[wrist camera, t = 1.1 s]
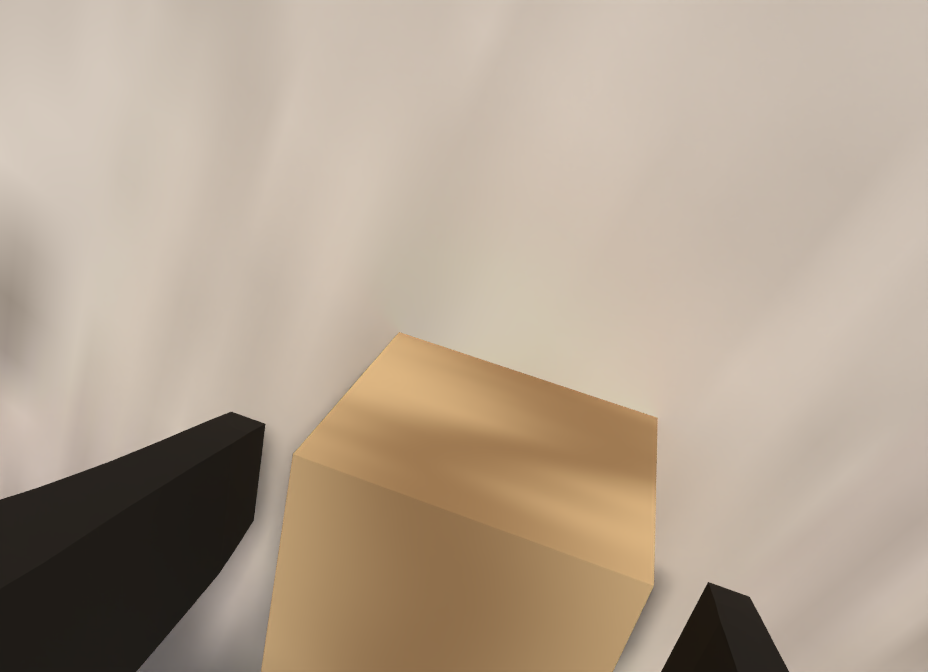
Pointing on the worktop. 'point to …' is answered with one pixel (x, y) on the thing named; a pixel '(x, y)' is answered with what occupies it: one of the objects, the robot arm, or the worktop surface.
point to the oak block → (464, 524)
